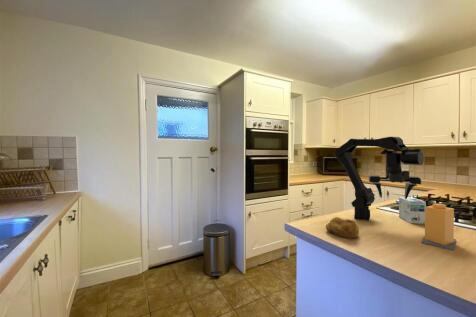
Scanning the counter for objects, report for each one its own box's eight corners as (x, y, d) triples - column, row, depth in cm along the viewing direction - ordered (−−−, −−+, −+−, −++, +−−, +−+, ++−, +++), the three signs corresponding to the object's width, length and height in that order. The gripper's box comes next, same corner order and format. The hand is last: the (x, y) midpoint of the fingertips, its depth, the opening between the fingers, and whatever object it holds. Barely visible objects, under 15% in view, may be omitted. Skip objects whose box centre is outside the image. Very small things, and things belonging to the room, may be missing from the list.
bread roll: (321, 232, 91) (321, 214, 91) (333, 227, 97) (333, 210, 97) (352, 242, 81) (352, 221, 81) (363, 236, 87) (363, 216, 87)
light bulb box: (426, 224, 100) (426, 201, 99) (410, 223, 101) (410, 201, 101) (412, 217, 110) (412, 196, 110) (398, 216, 112) (398, 196, 111)
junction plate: (453, 250, 73) (453, 235, 73) (421, 243, 80) (421, 229, 80) (455, 240, 81) (455, 227, 81) (426, 234, 88) (426, 222, 88)
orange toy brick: (424, 238, 82) (425, 203, 82) (433, 236, 84) (433, 202, 84) (444, 245, 77) (445, 207, 76) (453, 242, 79) (454, 205, 79)
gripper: (371, 165, 94) (371, 200, 94) (425, 165, 85) (425, 204, 86) (368, 163, 104) (368, 195, 104) (417, 164, 95) (416, 198, 96)
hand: (393, 198), depth 97 cm, fingers open, 9 cm apart
